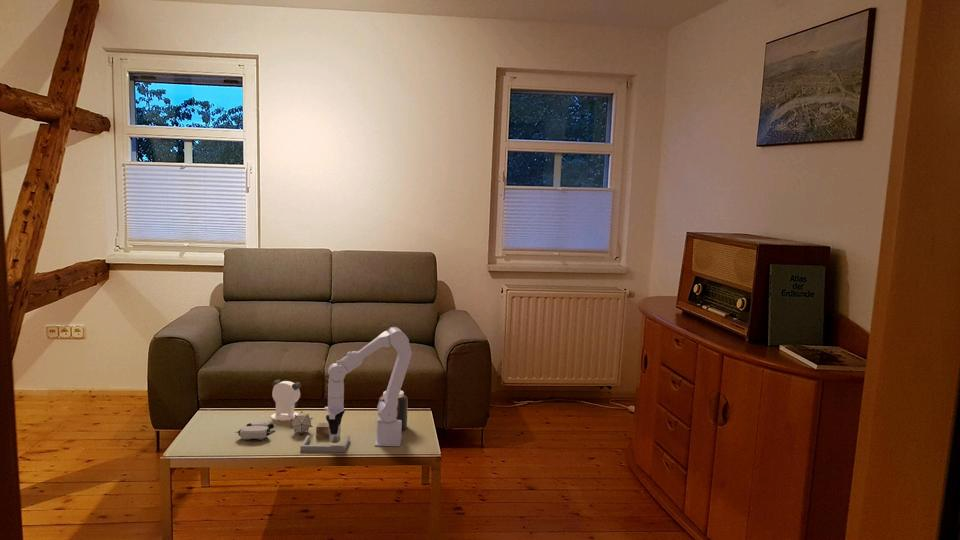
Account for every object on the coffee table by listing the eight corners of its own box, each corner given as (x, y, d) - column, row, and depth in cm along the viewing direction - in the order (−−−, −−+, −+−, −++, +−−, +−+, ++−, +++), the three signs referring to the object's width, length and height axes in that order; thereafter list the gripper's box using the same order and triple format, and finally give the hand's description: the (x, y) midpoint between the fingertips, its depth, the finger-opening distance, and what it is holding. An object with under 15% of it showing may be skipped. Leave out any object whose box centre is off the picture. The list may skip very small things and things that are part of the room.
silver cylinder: (340, 438, 229) (341, 423, 228) (339, 442, 225) (340, 427, 224) (329, 439, 228) (330, 423, 227) (328, 443, 224) (329, 427, 224)
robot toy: (245, 431, 241) (234, 442, 226) (246, 420, 241) (234, 430, 226) (277, 431, 243) (268, 442, 228) (277, 420, 242) (268, 430, 228)
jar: (404, 433, 243) (405, 397, 241) (375, 432, 243) (376, 395, 241) (408, 423, 254) (409, 388, 253) (380, 422, 255) (381, 387, 253)
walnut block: (330, 434, 239) (330, 423, 239) (327, 438, 235) (328, 427, 235) (318, 433, 239) (318, 422, 239) (316, 438, 235) (316, 426, 234)
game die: (298, 443, 238) (284, 427, 233) (298, 429, 245) (284, 412, 240) (318, 433, 238) (304, 416, 233) (318, 418, 245) (305, 402, 240)
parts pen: (349, 441, 233) (349, 435, 233) (344, 452, 222) (345, 446, 222) (307, 440, 232) (307, 435, 232) (300, 451, 221) (300, 446, 221)
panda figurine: (305, 413, 262) (306, 379, 260) (291, 422, 251) (291, 386, 250) (280, 410, 265) (281, 376, 263) (265, 418, 254) (265, 383, 252)
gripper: (328, 390, 232) (328, 424, 233) (320, 401, 217) (320, 438, 219) (347, 390, 232) (346, 425, 233) (340, 402, 218) (340, 439, 219)
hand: (335, 431), depth 226 cm, fingers closed on silver cylinder, 4 cm apart
